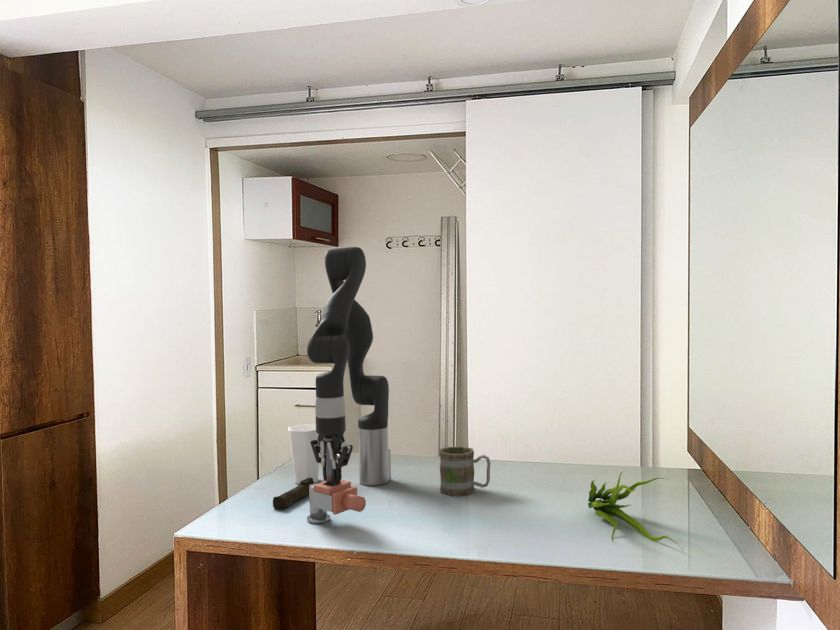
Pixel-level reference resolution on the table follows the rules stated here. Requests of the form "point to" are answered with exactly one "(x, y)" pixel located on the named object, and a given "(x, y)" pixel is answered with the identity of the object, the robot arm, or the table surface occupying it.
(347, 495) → the bracket
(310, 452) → the cup
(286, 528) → the table surface
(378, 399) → the robot arm
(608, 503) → the decorative plant
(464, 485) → the mug
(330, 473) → the steel pin
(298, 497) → the hand tool
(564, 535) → the table surface
